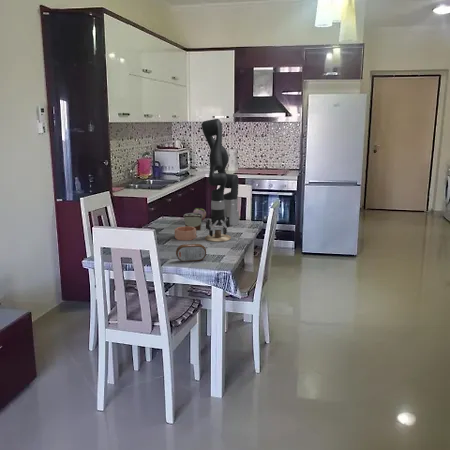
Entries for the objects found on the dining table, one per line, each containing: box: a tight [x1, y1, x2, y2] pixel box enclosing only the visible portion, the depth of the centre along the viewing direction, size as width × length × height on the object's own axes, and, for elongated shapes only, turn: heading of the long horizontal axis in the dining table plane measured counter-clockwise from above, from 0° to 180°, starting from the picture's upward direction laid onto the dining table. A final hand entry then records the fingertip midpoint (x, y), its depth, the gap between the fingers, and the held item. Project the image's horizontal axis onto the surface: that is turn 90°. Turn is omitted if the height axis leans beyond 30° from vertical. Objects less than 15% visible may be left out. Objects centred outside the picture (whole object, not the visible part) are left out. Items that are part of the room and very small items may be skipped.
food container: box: [183, 212, 203, 232], centre depth 291 cm, size 12×6×10 cm, turn 84°
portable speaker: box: [175, 243, 207, 263], centre depth 230 cm, size 15×3×8 cm, turn 99°
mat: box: [199, 233, 238, 245], centre depth 269 cm, size 17×17×1 cm
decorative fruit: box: [192, 206, 207, 221], centre depth 312 cm, size 9×8×10 cm
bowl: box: [174, 225, 197, 241], centre depth 270 cm, size 12×12×6 cm
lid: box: [205, 229, 232, 243], centre depth 268 cm, size 15×15×5 cm
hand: (217, 235), depth 268 cm, fingers open, 8 cm apart
